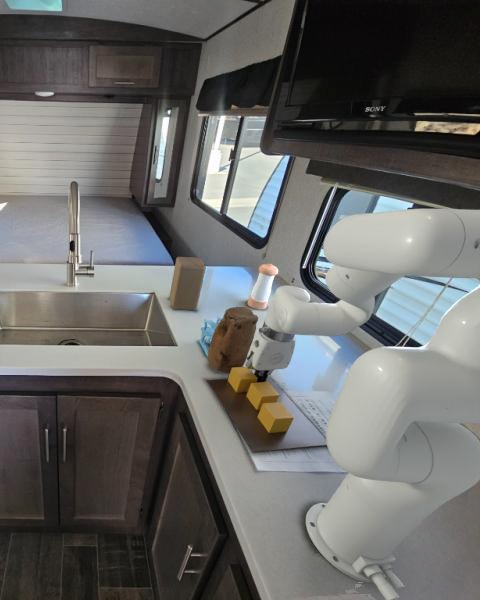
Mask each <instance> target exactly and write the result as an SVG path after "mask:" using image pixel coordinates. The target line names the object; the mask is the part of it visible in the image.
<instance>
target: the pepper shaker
mask: <svg viewBox="0 0 480 600" xmlns="http://www.w3.org/2000/svg"><path fill="white" fill-rule="evenodd" d="M278 274H279V268H278V267H277V266H275V265H273V264H272V263H263V264H261V265H259V267H258V277H257V280H256V282H255V284H254V286H253V288H252V291H251V294H250V295H249V296H248V301H247V303H246V304H247V305H248V306H249V307H250V308H252V309H255V310H260V311H261V310H266V309H267V306H268V303H269V297H270V295H271V292H272V285H273V281H274V278H275V276H277V275H278Z"/></svg>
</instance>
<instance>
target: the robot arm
mask: <svg viewBox="0 0 480 600" xmlns="http://www.w3.org/2000/svg"><path fill="white" fill-rule="evenodd" d="M322 245H323V246H322V250H323V255H324V257H325V258H326V260H327V261H328V262H329V263H331V264H332V266H331V267H330V268H329V269H328V270H327V272H326V274H325V278H324V279H325V284H326V286H327V288H328V290H329V291H330V292H331V293H332V294H333V295H334V296H335V297H336V298H338V299H339V300H338V301H337V302H335V303H326V302H310V301H311V296H310V293H309V292H308V291H307V290H305V289H303V288H301V287H299V286H295V285H281V286H279V287H277V288H276V290H275V292H274V294H273V296H272V298H271V302H270V305H269V308H268V310H267V313H266V316H265V319H264V321H263V324H262V327H259V328H258V333H257V334H256V336H254V339H253V342H252V344H251V347H250V349H249V352H248V355H247V359H246V361H247V362H246V364H245V367H247V368H248V369H250V370H251V371H254V372H253V373H254V375H255V376H256V377H257V378H258V379H257V382H256V383H259V382H266V379H267V377H268V376H271V375H272V373H273V372H274V371H275V370H285V369H287V368H288V367H289V365H290V363H291V361H292V358H293V355H294V352H295V347H296V337H295V336H297V335H298V336H315V337H316V336H317V337H341V336H344V335H346V334H347V335H348V334H350V333H351V332H353V331H354V330H356V329H357V328H359V327H361V326H362V325H364V324H365V323H367V322H368V321H369V320H370V318H371V316H372V315H373V311H374V310H375V305H376V299H375V297H376V296H378V295H379V294H380V293H382V292H383V291H385V290H387V288H389V287H391V286H392V285H393V284H395V283H396V282H398V281H399V280H400V279H402V278H404V277H405V276H407V277H425V278H428V277H429V278H449V279H476V280H478V281H479V282H480V209H463V208H462V209H461V208H460V209H459V208H410V209H399V210H389V211H379V212H368V213H367V212H366V213H355V214H351V215H348V216H346V217H343V218H342V219H340V220H339V221H337V222H336V223H335V224H334V225H333V226H331V228H330V229H329V230H328V231H327V233H326V235H325V238H324V241H323V244H322ZM343 381H344V382H343V384H342V386H341V389H340V391H339V393H338V396H337V398H336V400H335V403H334V406H333V408H332V410H331V413H330V415H329V417H328V421H327V425H326V431H325V439H326V441H327V446H326V447H327V449H328V452H329V455H330V457H331V458H332V460H333V461H334V462H335V464H336V465H337V466H338V467H339V468H340V469H341V470H343V471H345V472H346V473H347V474H346V476H345V477H344V479H343V480H342V481H341V483H340V484H339V486H338V487H337V488H336V490H335V492H333V494H332V495H331V497H330V499H329V500H328V501H327V502H320V503H319V502H318V503H315V504H313V505H312V506H311V507H310V508H309V509H308V510H307V513H306V516H305V526H306V530H307V531H306V532H307V534H308V536H309V538H310V540H311V541H312V543H313V545H314V547H316V549H317V550H318V552H319V553H320V554H321V555H322V556H323V558H324V559H326V560H327V562H329V564H331V565H332V566H333V567H335V569H337V570H338V571H340V572H341V573H343V574H344V575H346V576H348V577H350V578H352V579H354V580H356V581H359V582H361V583H366V584H375V586H376V587H377V590H378V591H379V592H380V593H381V595H382V597H383V598H384V599H385V600H401V597H400V595H399V594H398V593H397V592H396V591H402V590H404V589H405V588H406V586H405V585H404V584H403V583H402V580H400V578H399V577H398V576H397V575H396V574H395V573H394V572H393V565H392V564H394V562H396V561H397V559H396V558H395V556H394V555H393V554H392V552H393V551H394V550H395V549H396V548H397V547H398V546H399V545H401V543H403V541H404V540H405V539H406V538H407V537H408V536H409V535H410V534H411V533H413V531H414V530H415V529H416V528H418V527H419V526H420V524H422V523H423V522H424V521H425V520H426V519H427V518H429V516H431V515H432V514H433V513H434V512H435V511H436V510H437V509H438V508H440V507H441V506H442V505H444V504H445V503H447V502H448V501H450V500H452V499H454V498H456V497H458V496H459V495H461V494H463V493H465V492H467V491H468V490H469V489H471V488H473V487H474V486H475V485H476V484H477V483H478V482H479V481H480V440H479V439H478V438H477V437H478V436H476V435H475V434H474V433H472V431H471V430H469V429H468V428H467V427H465V426H463V425H479V424H480V284H478V286H476V287H475V288H474V289H472V290H471V291H470V292H467V293H466V294H465V295H463V296H462V297H460V298H459V299H458V300H456V302H454V303H453V304H452V305H451V306H450V307H449V308H448V309H447V310H446V312H445V313H444V314H443V316H442V317H441V318H440V321H439V323H438V325H437V328H436V330H435V331H434V333H433V334H432V336H431V337H430V339H429V340H428V341H427V343H426V344H424V345H421V346H419V347H416V346H415V347H414V346H413V347H412V346H411V347H410V346H381V347H376V348H372V349H370V350H367V351H365V352H364V353H362V354H361V355H360V356H359V357H357V359H356V360H354V362H352V364H351V366H350V368H349V370H348V372H347V374H346V377H345V379H344V380H343ZM387 579H388V580H387ZM388 581H389V582H390V583H391V584H390V583H389V582H388Z"/></svg>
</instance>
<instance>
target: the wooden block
mask: <svg viewBox="0 0 480 600" xmlns="http://www.w3.org/2000/svg"><path fill="white" fill-rule="evenodd" d="M206 270H207V266H206V264H205V263H204V261H203V259H202V258H200V257H192V256H190V257H189V256H177V257H176V259H175V263H174V270H173V274H172V279H171V280H172V281H171V286H170V291H169V296H168V297H169V302H170V304H171V308H172V310H181V311H196V310H197V309H198V306H199V300H200V297H201V292H202V288H203V283H204V280H205V279H204V278H205V274H206Z"/></svg>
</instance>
